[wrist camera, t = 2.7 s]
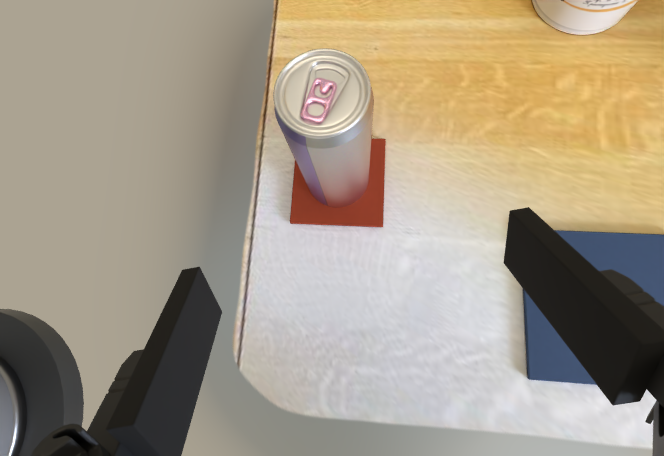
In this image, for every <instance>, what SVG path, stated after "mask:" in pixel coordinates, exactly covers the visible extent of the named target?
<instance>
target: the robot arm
mask: <svg viewBox="0 0 664 456" xmlns="http://www.w3.org/2000/svg"><path fill="white" fill-rule="evenodd" d="M504 264H505V265H506V266H507V268H508V269H509V270H510V272H511V273H512V274H513V276H514V277H515V278H516V280H517V281H518V282H519V283H520V285H521V286H522V287H523V289H524V290H525V291H526V293H527V294H528V295H529V297H530V298H531V299H532V300H533V302H534V303H535V304H536V306H537V307H538V308H539V310H540V311H541V312H542V314H543V315H544V316H545V317H546V319H547V320H548V321H549V323H550V324H551V325H552V327H553V328H554V329H555V330H556V332H557V333H558V334H559V336H560V337H561V338H562V340H563V341H564V342H565V344H566V345H567V346H568V347H569V349H570V350H571V351H572V353H573V354H574V355H575V357H576V358H577V359H578V361H579V362H580V363H581V364H582V366H583V367H584V368H585V370H586V371H587V372H588V374H589V375H590V376H591V378H592V379H593V380H594V381H595V383H596V384H597V385H598V387H599V388H600V389H601V391H602V392H603V393H604V395H605V396H606V397H607V398H608V400H609V401H610V402H611V404H612V405H618V404H625V403H632V402H638V401H640V400H641V398H642V397H643V395H644V393H645V391H646V389H647V390H648V391H649V392H650V393H651V394H652V395H653V397H654V398H655V399H656V400H657V401H656V403H655V404H654V406H653V408H652V409H651V411H650V413H649V415H648V416H647V419H646V422H647V423H649V424H651V422H652V421H653V419H654V421H653V456H664V306H663V305H661V304H660V303H659V302H656V301H655V299H654V298H653V297H652V296H651V295H650V294H648V293H647V292H644V289H642V288H641V287H640V286H639V285H638V284H636V283H635V282H634V281H633V280H632V279H630V278H629V277H627V276H625V275H623V274H621V273H619V272H617V271H615V270H613V269H609V270H603V271H598V270H597V269H596V268H595V267H594V266H593V265H592V264H591V263H590V262H589V261H587V260H586V259H585V258H584V257H583V256H582V255H581V254H580V253H579V252H577V251H576V250H575V249H574V248H573V247H572V246H571V245H570V244H569V243H568V242H566V241H565V240H564V239H563V238H562V237H561V236H560V235H559V234H558V233H557V232H555V231H554V230H553V229H552V228H551V227H550V226H549V225H548V224H547V223H545V222H544V221H543V220H542V219H541V218H540V217H539V216H538V215H537V214H536V213H534V212H533V211H532V210H531V209H530V208H529V207H528V208H522V209H517V210H511V211H510V214H509V222H508V231H507V239H506V248H505V256H504ZM221 314H222V311H221V309H220V307H219V305H218V303H217V301H216V299H215V297H214V295H213V293H212V291H211V289H210V287H209V285H208V283H207V281H206V279H205V277H204V275H203V273H202V271H201V269H200V267H196V268H190V269H185V270H182V272H181V274H180V276H179V278H178V280H177V282H176V284H175V286H174V288H173V290H172V293H171V295H170V297H169V299H168V301H167V303H166V305H165V307H164V309H163V311H162V313H161V315H160V318H159V319H158V321H157V324H156V326H155V328H154V330H153V332H152V334H151V336H150V338H149V340H148V342H147V344H146V346H145V349H144V350H138V351H134V352H133V353H132V354H131V355H130V356H129V357H128V359H127V360H126V361H125V362H124V363H123V364H122V365H121V367H120V369H119V371H118V373H117V375H116V377H115V381H114V382H113V383H112V385H111V387H110V388H109V393H108V394H106V396H105V398H104V400H103V402H102V404H101V406H100V407H99V409H98V411H97V413H96V415H95V417H94V419H93V421H92V423H91V425H90V427H89V429H88V430H87V431H85V430H84V429H83V428H82V427H81V426H80V425H79V424H73V423H72V424H68V425H64V426H62V427H60V428H58V429H56V430H54V431H53V432H51V433H50V434H49V435H48V436H46V437H45V438H44V439H43V440H42V441H41V442H40V443H39V444H38V445H37V447H36V448H35V449H34V450H33V452H32V454H31V456H181V454H182V451H183V447H184V444H185V440H186V437H187V433H188V430H189V426H190V423H191V419H192V416H193V412H194V409H195V405H196V401H197V398H198V395H199V391H200V387H201V384H202V381H203V377H204V374H205V370H206V366H207V363H208V360H209V356H210V352H211V349H212V345H213V342H214V338H215V335H216V331H217V328H218V324H219V321H220V317H221ZM26 423H27V405H26V398H25V394H24V390H23V387H22V384H21V382H20V380H19V378H18V376H17V374H16V373H15V371H14V370H13V368H12V367H11V366H10V365H9V364H8V363H7V362H6V361H5V360H4V359H2V358H1V357H0V456H18V455H19V453H20V450H21V447H22V444H23V440H24V436H25V431H26Z"/></svg>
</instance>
